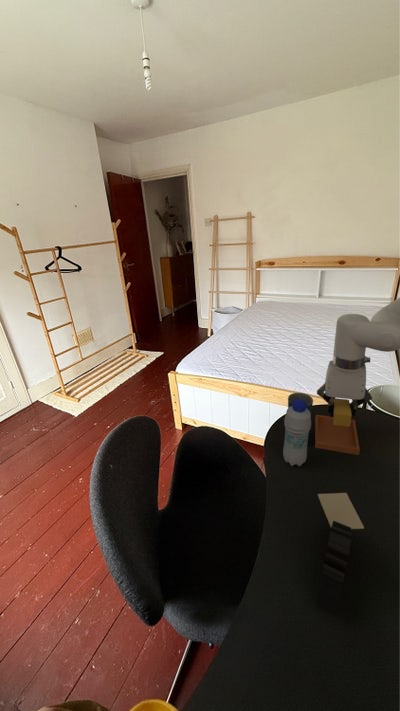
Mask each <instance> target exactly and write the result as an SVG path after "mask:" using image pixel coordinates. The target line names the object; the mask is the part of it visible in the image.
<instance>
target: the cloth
mask: <svg viewBox="0 0 400 711" xmlns="http://www.w3.org/2000/svg"><path fill="white" fill-rule="evenodd" d="M317 497H318V500H319V502H320V505H321V507H322V509H323V512H324V514H325V517H326V519H327V521H328V524H329V526H330V528H331V526H332V524H333V520H334V521H336V522H338V523H341V524H343V525H346V526H348V527H351V530H363V529H365V526H364V524H363V522H362V520H361V519H360V516H359V514H358V513H357V511H356V509H355V507H354V505H353V503H352V501H351V499H350V497H349V495H348V493H347V492H333V493H331V492H329V493H317Z"/></svg>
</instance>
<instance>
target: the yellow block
mask: <svg viewBox="0 0 400 711" xmlns="http://www.w3.org/2000/svg"><path fill="white" fill-rule="evenodd" d="M350 403H351V402H350V399H344V398H335V400H334V412H333V425H339V426H346V427H350V424H351V417H352V415H351V409H350Z"/></svg>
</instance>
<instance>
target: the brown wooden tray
mask: <svg viewBox="0 0 400 711" xmlns="http://www.w3.org/2000/svg"><path fill="white" fill-rule="evenodd" d="M314 419H315V420H314V448H316V449H322V450H328V451H332V452H339V453H343V454H344V453H345V454H349V455H355V456H360V452H361V449H360V448H361V447H360V443H359V438H358V436H359V435H358V431H357V425H356V419H352V420H351V424H350V427H346V426H339V425H333V417H330V415H328V416H327V415H323V414H315V418H314Z"/></svg>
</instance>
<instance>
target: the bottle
mask: <svg viewBox="0 0 400 711" xmlns="http://www.w3.org/2000/svg"><path fill="white" fill-rule="evenodd" d="M311 414H312V412H311V413H310V411H309V410H308V409H307V408H306V403H305V401H303V400H295V401H294V402H293V405H292V406H291V407H289V408H288V407H287V409H286V412H285V417H284V420H283V421H284V428H285V431H284V442H283V449H282V455H283V459H284V462H285V463H287V464H288V463H289V465H290V466H291V467H294V466H295V465H296V466H297V467H301V466H303V464H305V463H306V461H307V457H308V441H309V433H310V430H311V427H312V416H311Z"/></svg>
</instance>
